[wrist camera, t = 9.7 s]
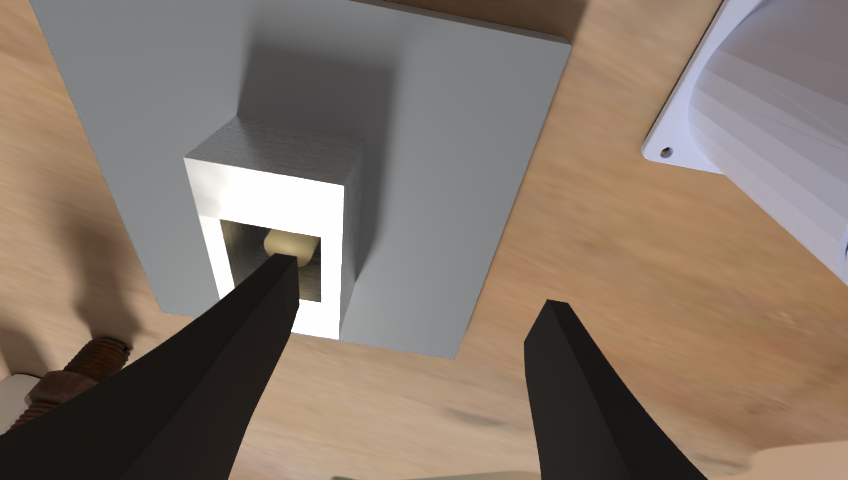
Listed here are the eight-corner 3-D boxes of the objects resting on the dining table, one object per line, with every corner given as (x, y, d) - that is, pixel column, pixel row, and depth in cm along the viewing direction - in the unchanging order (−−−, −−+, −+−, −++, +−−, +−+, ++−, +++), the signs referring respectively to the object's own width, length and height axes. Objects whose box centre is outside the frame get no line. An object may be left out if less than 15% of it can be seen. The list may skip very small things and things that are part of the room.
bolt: (60, 326, 30) (-195, 575, 18) (112, 321, 29) (-123, 580, 17) (112, 368, 33) (-74, 600, 22) (160, 364, 32) (-8, 605, 21)
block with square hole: (365, 138, 17) (343, 186, 13) (355, 282, 22) (338, 339, 19) (236, 115, 16) (183, 157, 13) (259, 266, 22) (225, 320, 19)
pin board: (563, 36, 15) (591, 63, 12) (455, 341, 27) (454, 393, 24) (38, -70, 14) (-84, -71, 11) (174, 295, 27) (136, 343, 23)
